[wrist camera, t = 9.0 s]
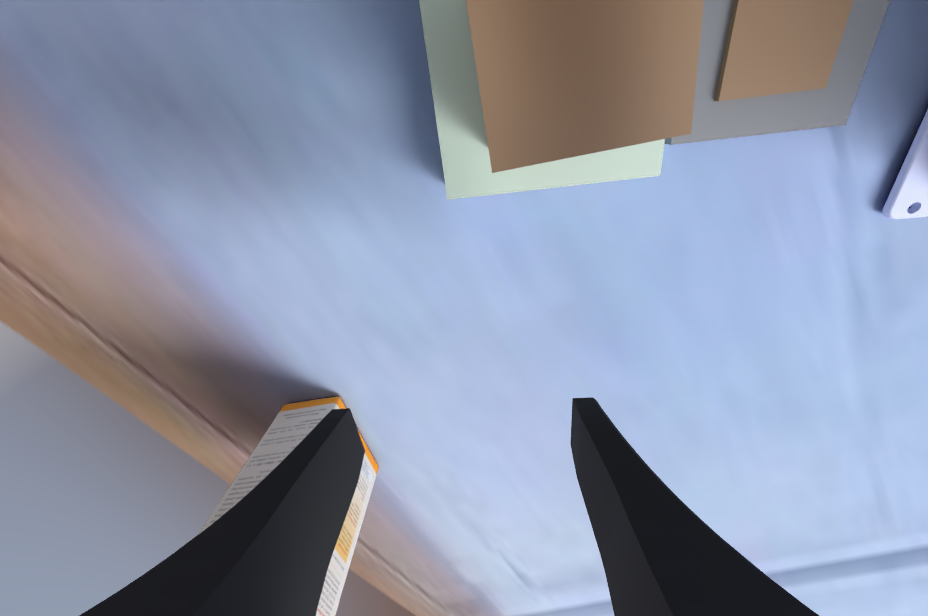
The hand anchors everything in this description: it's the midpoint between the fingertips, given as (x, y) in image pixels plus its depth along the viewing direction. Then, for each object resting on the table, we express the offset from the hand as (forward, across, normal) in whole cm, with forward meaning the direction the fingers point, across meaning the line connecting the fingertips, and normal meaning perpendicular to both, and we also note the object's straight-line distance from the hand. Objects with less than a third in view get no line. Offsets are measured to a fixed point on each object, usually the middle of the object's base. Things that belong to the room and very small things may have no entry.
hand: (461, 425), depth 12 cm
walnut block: (+8, -4, -10) cm, 13 cm away
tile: (+10, -13, -10) cm, 19 cm away
